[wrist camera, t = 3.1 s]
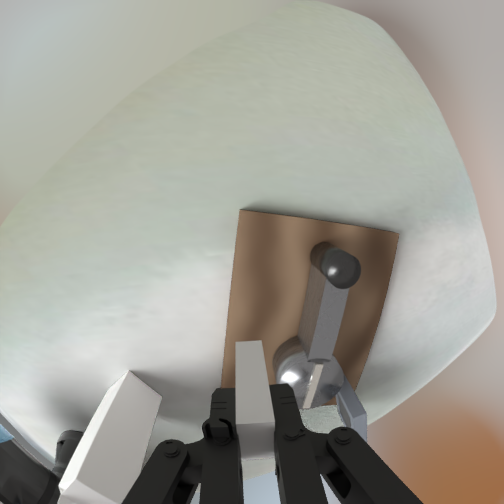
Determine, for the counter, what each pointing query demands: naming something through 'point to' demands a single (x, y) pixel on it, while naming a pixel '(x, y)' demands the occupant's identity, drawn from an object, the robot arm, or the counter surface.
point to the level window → (351, 409)
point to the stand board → (302, 287)
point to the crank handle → (318, 329)
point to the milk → (112, 445)
